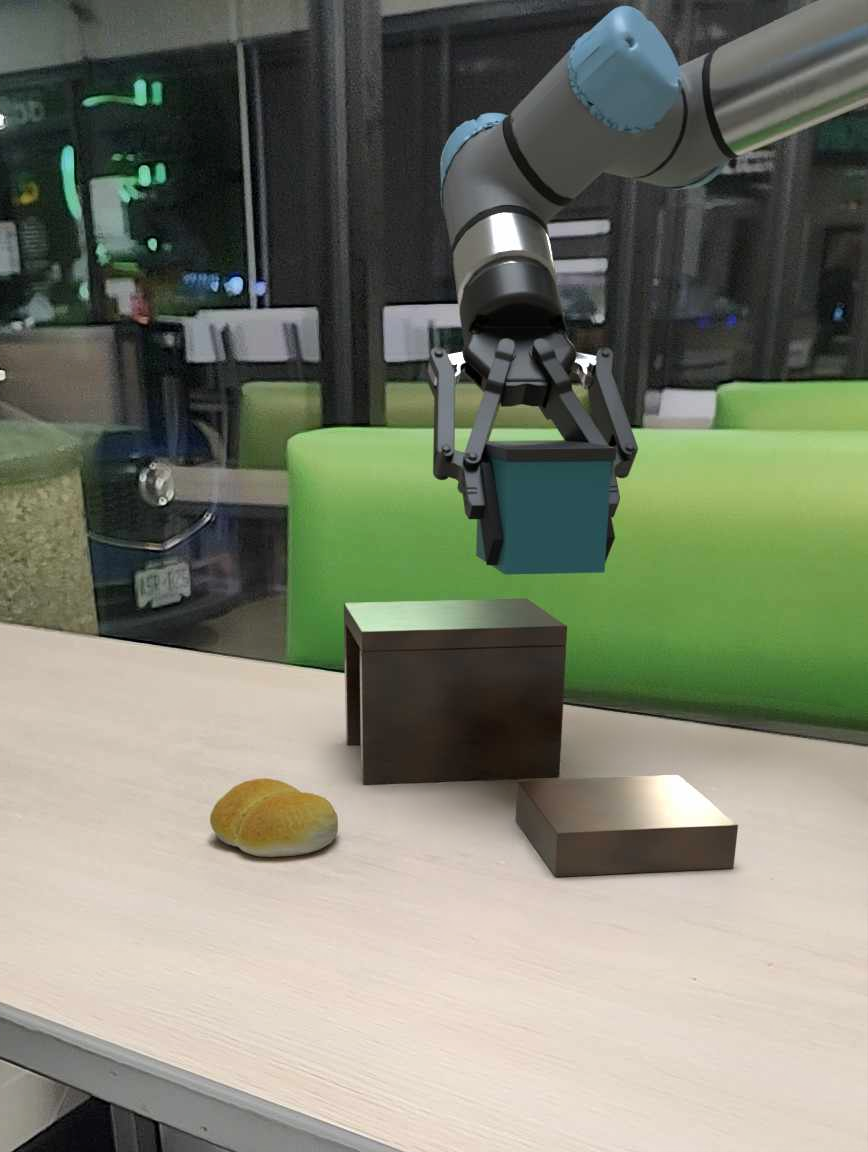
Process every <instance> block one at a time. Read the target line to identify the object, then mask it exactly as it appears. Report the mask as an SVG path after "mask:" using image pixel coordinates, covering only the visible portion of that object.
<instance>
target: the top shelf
mask: <svg viewBox="0 0 868 1152" xmlns="http://www.w3.org/2000/svg"><path fill="white" fill-rule="evenodd" d="M567 641H568V626H567V625H566V624H565V623H563V622H562V621H560V620H559V619H558V618H556V617H555V616H553V615H551V614H550V613H549V612H547V611H546V610H544V609H543V608H541V607H540V606H539V605H538V604H535V602H533V601H532V600H530V599H528V598H491V599H490V598H489V599H487V598H485V599H484V598H483V599H449V600H448V599H445V600H410V601H408V600H406V601H403V600H402V601H370V602H365V601H364V602H344V603H343V642H344V644H343V646H344V648H343V649H344V652H343V653H344V654H343V655H344V707H345V708H344V712H345V714H344V715H345V742H346V744H347V745H349V746H350V745H360V780H361V782H362V784H363V785H382V784H383V785H384V784H406V783H407V784H409V783H412V784H413V783H431V782H432V783H433V782H434V783H435V782H436V783H437V782H457V781H458V782H461V781H483V780H484V781H485V780H508V779H511V780H513V779H535V778H558V777H560V775H561V757H562V738H563V737H562V735H563V719H564V717H563V716H564V698H565V697H564V696H565V678H566V677H565V676H566V658H567Z"/></svg>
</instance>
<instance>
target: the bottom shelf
mask: <svg viewBox="0 0 868 1152" xmlns="http://www.w3.org/2000/svg"><path fill="white" fill-rule="evenodd" d="M515 801H516V802H515V803H516V804H515V822H516V823H517V825H518V826H519V827H520V829H521V830H522V831H523V833H524V834H525V836H526V837H527V838H528V840H529V841H530V843H531V844H532V846H533V847H534V848H535V850H536V851H537V853H538V854H539V856H540V857H541V858H542V860H543V861H544V863H545V865H546V866H547V868H549V870H550V871H551V873H552V875H554V877H556V878H559V877H562V878H563V877H580V876H601V875H602V876H603V875H604V876H605V875H620V874H621V875H622V874H623V875H625V874H642V873H643V874H644V873H646V874H647V873H661V872H662V873H664V872H683V871H684V872H685V871H687V872H688V871H704V870H707V871H708V870H726V869H734V866H735V858H736V850H737V849H736V848H737V841H738V840H737V839H738V832H739V831H738V829H739V824H737V823H736V821H734V820H733V819H731V818H730V817H729V815H727V814H726V813H724V812H723V811H722V810H721V809H719V808H718V807H717V806H716V805H715V804H714V803H713V802H711V801H710V800H709V799H708V798H707V797H705V796H704V795H703V794H702V793H700V792H699V791H698V790H697V789H696V788H695V787H693V786H692V785H691V784H690V783H689V782H687V781H686V780H685V779H684V778H683V777H682V776H680V775H679V774H662V775H661V774H657V775H635V776H610V777H608V776H607V777H586V778H585V777H584V778H560V779H559V778H557V779H536V780H535V779H534V780H533V779H532V780H517V782H516V800H515Z"/></svg>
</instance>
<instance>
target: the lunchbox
mask: <svg viewBox="0 0 868 1152" xmlns="http://www.w3.org/2000/svg"><path fill="white" fill-rule="evenodd" d="M615 460H616V448H615V447H609V446H604V445H599V444H593V443H588V442H577V441H566V440H564V439H560V440H559V439H557V440H556V439H554V440H553V439H552V440H550V439H549V440H547V439H544V440H541V439H540V440H538V439H537V440H535V439H534V440H489V441H488V442H487V443H486V444H485V449H484V453H483V460H482V463H492V464H493V471H494V478H495V484H496V491H497V497H498V504H499V511H500V517H501V524H502V530H503V537H504V541H503V545H502V548H501V552H500V556H499V560H498V563H497V565H490V566H491V567H493V568H494V569H495V570H497V571H498V572H500V573H502V574H503V575H505V576H506V575H507V576H508V575H510V576H511V575H548V574H549V575H552V574H553V575H556V574H598V573H599V574H601V573H605V570H606V563H605V557H606V541H607V526H608V511H609V495H610V480H611V464H612V461H615ZM482 463H481V464H482ZM475 545H476V547H475V549H476V550H475V553H476V554H475V556H476V557H478V558H479V559H480V560H482V561H483V562H485V563H486V558H485V551H484V544H483V537H482V530H481V523H480V519H476V544H475Z"/></svg>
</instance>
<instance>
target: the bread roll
mask: <svg viewBox="0 0 868 1152" xmlns="http://www.w3.org/2000/svg"><path fill="white" fill-rule="evenodd" d="M338 818H339V817H338V813H337V812H336V810H335V808H334V806H333V804H332V803H331V802H330V801H329V800H328V799H327V798H326V797H324V796H321V795H318V794H314V793H311V792H303V791H301V790H299V789H297V788H296V787H294V786H293V785H291V784H288V783H287V782H283V781H282V780H278V779H273V778H272V779H271V778H254V779H250V780H246V781H243V782H241V783H238V784H237V785H235V786H234V787H232V788H231V789H230V790H228V791H227V792H226V793H225V794H224V795H222V796H221V798H219V800H217V801H216V803H215V804H214V807H213V808H212V810H211V813H210V817H209V823H210V827H211V829H212V831H213V832H214V834H215V836H216V837H217V839H219V840H220V841H221V842H223V843H224V844H226V845H228V846H231V847H233V848H239V849H240V850H241V851H243V852H244V853H246V854H249V855H252V856H254V857H255V856H256V857H260V858H274V857H277V858H278V857H294V856H295V857H296V856H303V855H306V854H310V853H314V852H317V851H320V850H322V849H323V848H325V847H326V846H329V845H330V844H331V843H332V842H333V840H334V839H335V837H336V836H337V835H338V831H339V819H338Z"/></svg>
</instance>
